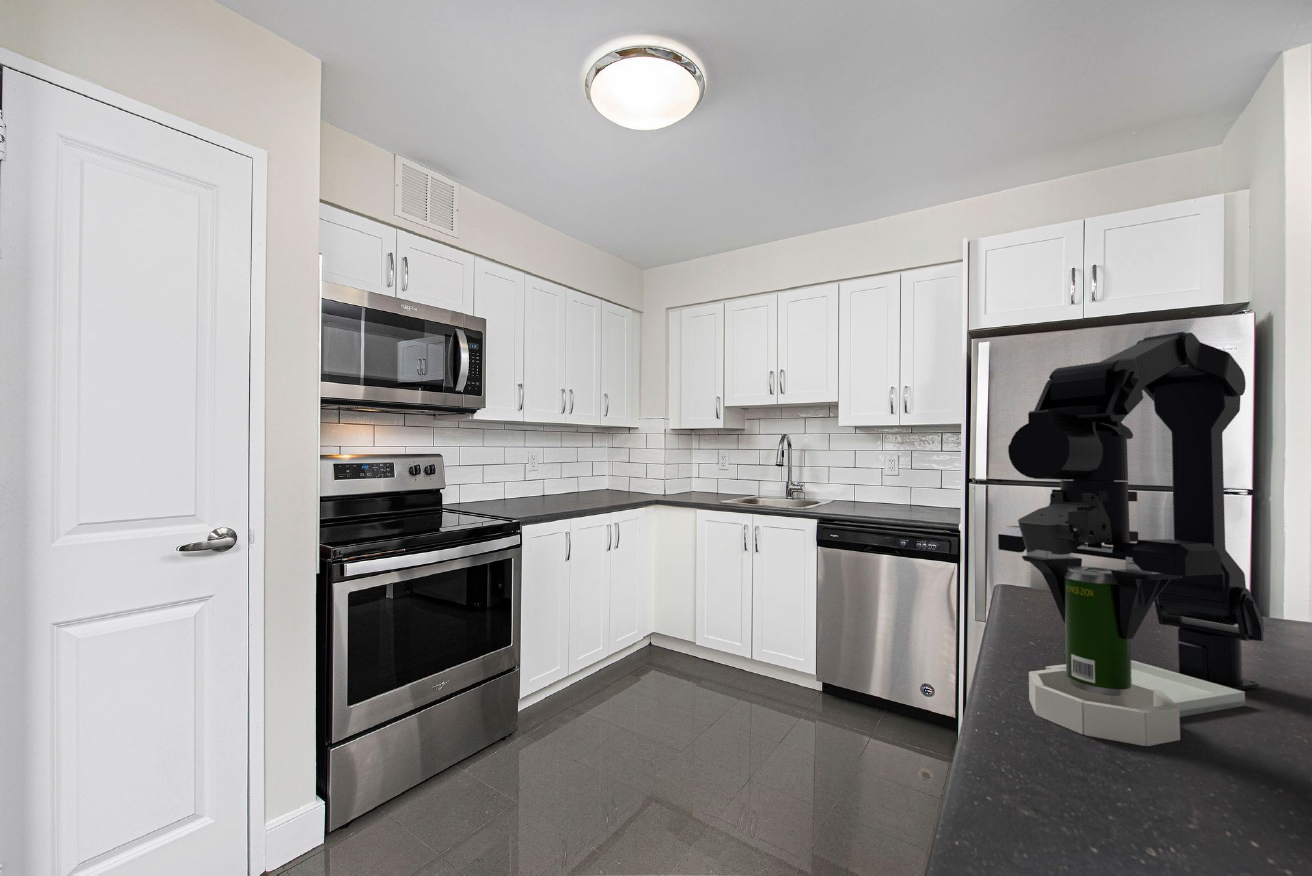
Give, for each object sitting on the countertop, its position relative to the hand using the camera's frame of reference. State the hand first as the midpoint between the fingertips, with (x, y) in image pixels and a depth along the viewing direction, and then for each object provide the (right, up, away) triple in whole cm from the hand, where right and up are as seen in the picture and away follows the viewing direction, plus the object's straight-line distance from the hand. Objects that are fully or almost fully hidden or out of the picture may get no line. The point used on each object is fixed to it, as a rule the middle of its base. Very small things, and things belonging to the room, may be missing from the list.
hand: (1096, 631), depth 60 cm
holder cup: (0, -9, -1) cm, 9 cm away
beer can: (0, -6, 0) cm, 6 cm away
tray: (+11, -10, +7) cm, 16 cm away
